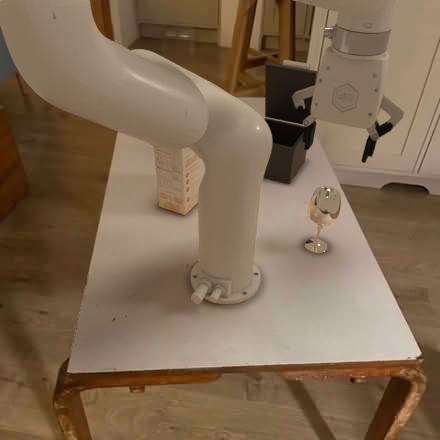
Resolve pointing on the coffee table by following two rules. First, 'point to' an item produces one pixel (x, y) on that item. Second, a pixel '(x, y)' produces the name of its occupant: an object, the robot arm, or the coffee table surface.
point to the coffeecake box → (178, 178)
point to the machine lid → (286, 89)
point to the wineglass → (322, 214)
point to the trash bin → (285, 151)
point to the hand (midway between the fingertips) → (336, 152)
